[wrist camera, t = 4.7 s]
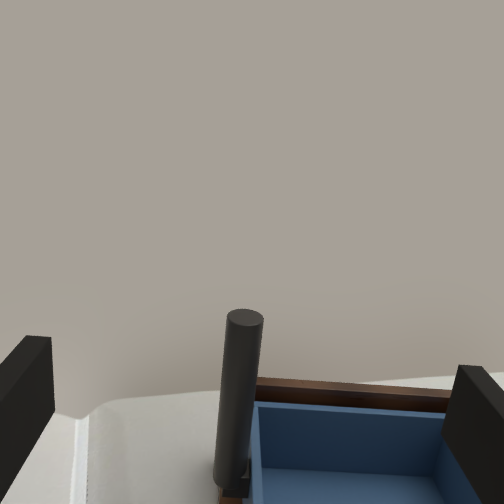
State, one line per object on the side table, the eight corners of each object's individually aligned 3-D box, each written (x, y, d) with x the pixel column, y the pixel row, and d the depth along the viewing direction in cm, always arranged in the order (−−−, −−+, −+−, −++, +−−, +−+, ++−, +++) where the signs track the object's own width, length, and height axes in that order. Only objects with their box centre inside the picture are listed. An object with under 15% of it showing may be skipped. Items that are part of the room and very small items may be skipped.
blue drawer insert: (201, 622, 25) (223, 373, 20) (213, 465, 35) (229, 277, 30) (513, 634, 25) (608, 399, 21) (434, 477, 36) (485, 297, 31)
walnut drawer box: (209, 674, 23) (221, 558, 21) (221, 460, 37) (228, 374, 34) (555, 685, 24) (607, 576, 22) (442, 473, 38) (465, 390, 35)
